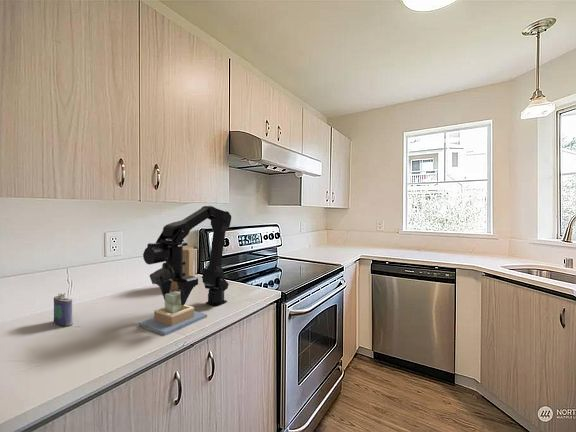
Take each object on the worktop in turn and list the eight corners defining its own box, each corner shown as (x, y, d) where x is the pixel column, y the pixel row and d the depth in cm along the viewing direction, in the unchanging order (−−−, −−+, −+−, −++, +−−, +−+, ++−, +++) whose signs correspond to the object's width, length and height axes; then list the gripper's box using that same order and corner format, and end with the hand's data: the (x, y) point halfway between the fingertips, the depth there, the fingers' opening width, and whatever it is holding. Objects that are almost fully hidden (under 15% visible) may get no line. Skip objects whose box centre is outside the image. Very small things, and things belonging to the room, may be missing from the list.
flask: (74, 324, 99) (73, 294, 99) (64, 328, 97) (63, 296, 96) (60, 319, 104) (59, 290, 103) (50, 322, 101) (49, 292, 101)
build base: (182, 309, 115) (181, 298, 115) (207, 316, 108) (207, 304, 107) (139, 325, 99) (138, 312, 99) (165, 335, 92) (165, 321, 92)
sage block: (175, 307, 106) (175, 291, 106) (183, 309, 104) (183, 293, 104) (164, 310, 103) (164, 294, 102) (173, 313, 100) (173, 296, 100)
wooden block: (174, 285, 149) (173, 246, 148) (193, 284, 150) (193, 246, 149) (167, 290, 139) (167, 249, 138) (189, 290, 140) (189, 249, 139)
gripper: (137, 260, 100) (137, 304, 101) (172, 266, 91) (172, 315, 92) (165, 255, 110) (165, 295, 111) (199, 260, 101) (199, 304, 101)
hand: (174, 302), depth 103 cm, fingers open, 9 cm apart
